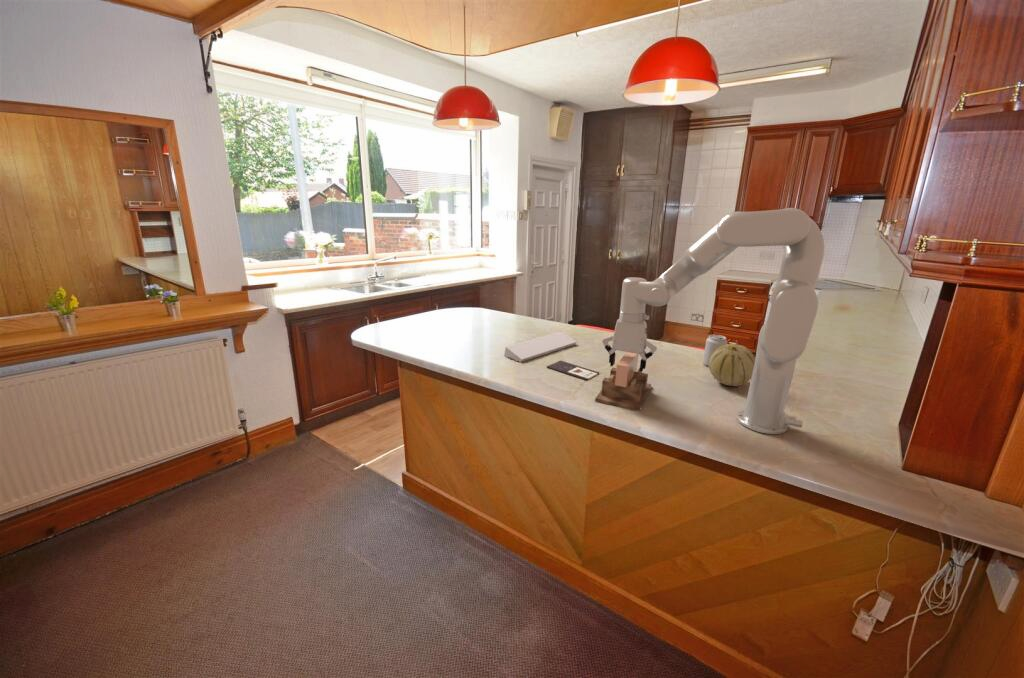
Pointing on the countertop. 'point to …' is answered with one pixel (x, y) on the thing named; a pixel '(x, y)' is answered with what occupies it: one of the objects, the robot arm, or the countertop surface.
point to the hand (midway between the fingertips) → (626, 367)
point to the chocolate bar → (573, 370)
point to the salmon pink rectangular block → (626, 369)
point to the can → (713, 346)
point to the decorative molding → (539, 346)
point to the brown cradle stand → (624, 391)
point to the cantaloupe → (732, 364)
